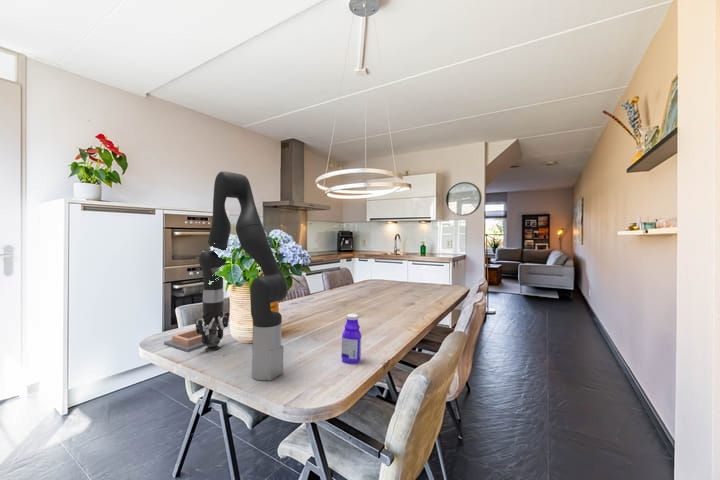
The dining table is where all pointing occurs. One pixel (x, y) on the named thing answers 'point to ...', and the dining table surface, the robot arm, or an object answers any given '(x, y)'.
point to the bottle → (351, 340)
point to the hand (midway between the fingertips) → (212, 341)
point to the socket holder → (186, 341)
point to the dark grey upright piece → (213, 339)
